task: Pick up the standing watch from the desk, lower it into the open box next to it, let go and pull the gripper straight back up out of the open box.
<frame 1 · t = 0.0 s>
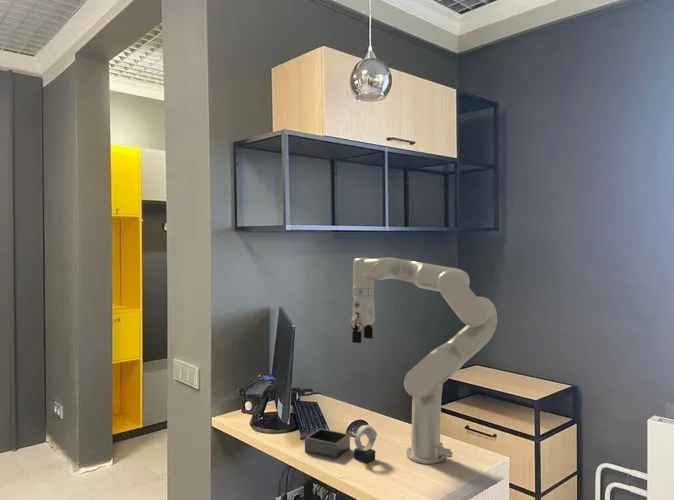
hand: (362, 340, 183), 37 cm above the table, tool pointing down, fingers open, 9 cm apart
open box: (327, 450, 177), on the table
watch: (364, 459, 170), on the table
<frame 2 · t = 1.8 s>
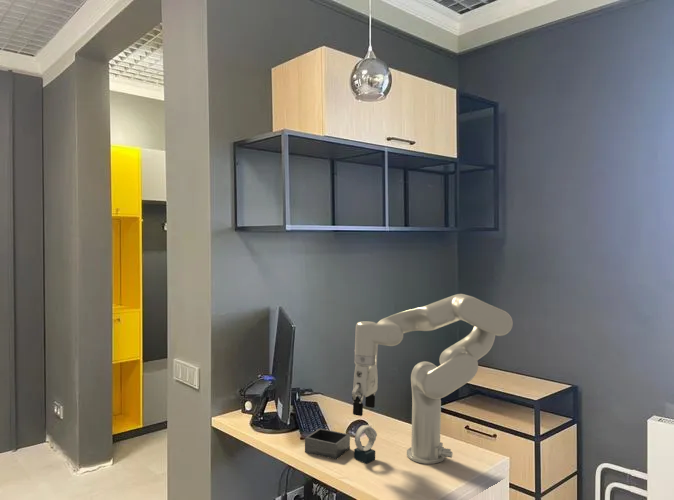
hand: (363, 410, 170), 16 cm above the table, tool pointing down, fingers open, 9 cm apart
nothing on the table moved.
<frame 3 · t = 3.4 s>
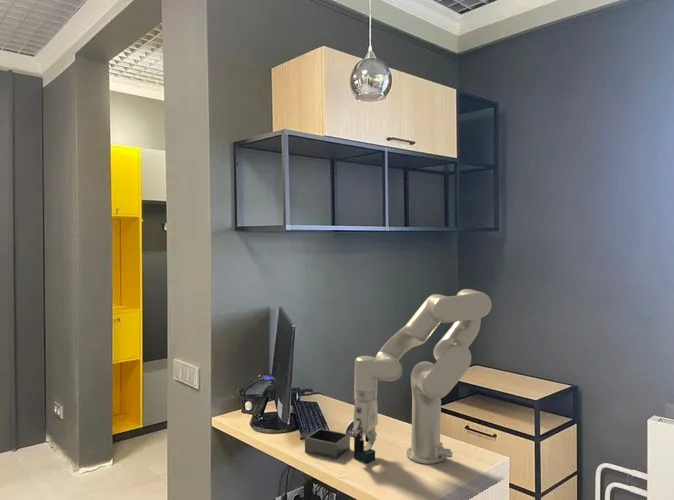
hand: (364, 446, 170), 4 cm above the table, tool pointing down, fingers closed on watch, 8 cm apart
watch: (364, 459, 170), on the table, touching gripper
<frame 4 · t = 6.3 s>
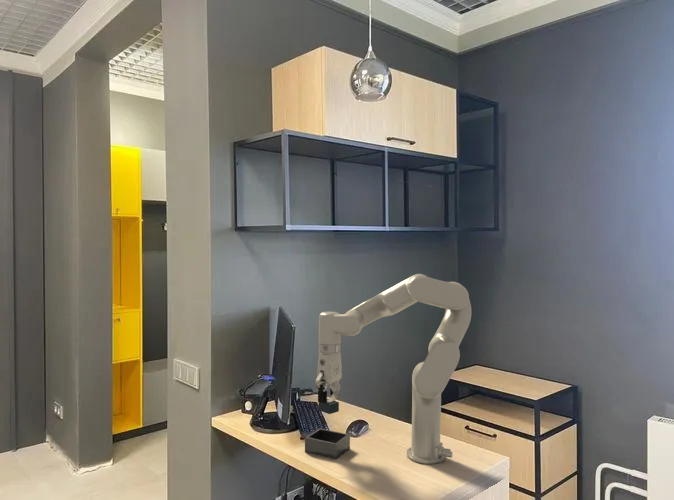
hand: (328, 398, 176), 18 cm above the table, tool pointing down, fingers closed on watch, 8 cm apart
watch: (328, 411, 176), point 14 cm above the table, touching gripper
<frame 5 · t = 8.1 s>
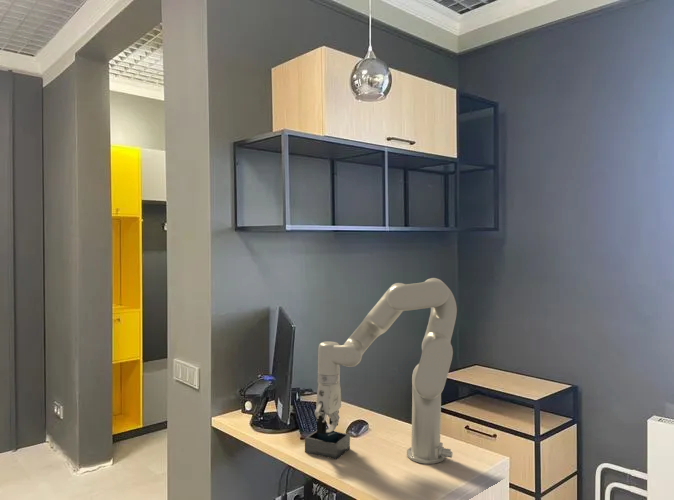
hand: (327, 428, 177), 8 cm above the table, tool pointing down, fingers closed on watch, 8 cm apart
watch: (327, 441, 177), point 3 cm above the table, touching gripper
when the fingers open (6 cm above the table, at t = 9.4 s): watch drops 1 cm, resting on open box.
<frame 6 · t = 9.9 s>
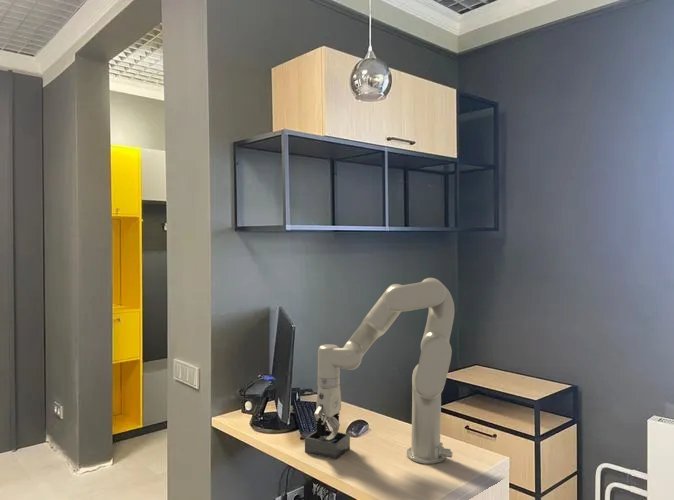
hand: (327, 430, 177), 7 cm above the table, tool pointing down, fingers open, 9 cm apart
watch: (327, 448, 176), point 1 cm above the table, touching open box
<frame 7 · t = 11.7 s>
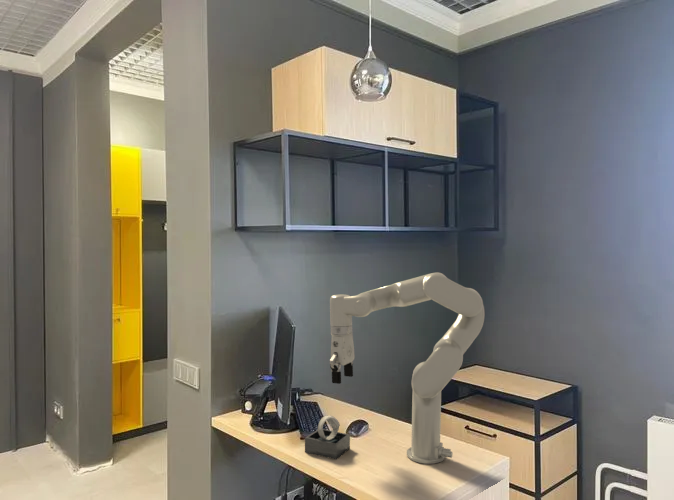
hand: (342, 379, 178), 24 cm above the table, tool pointing down, fingers open, 9 cm apart
nothing on the table moved.
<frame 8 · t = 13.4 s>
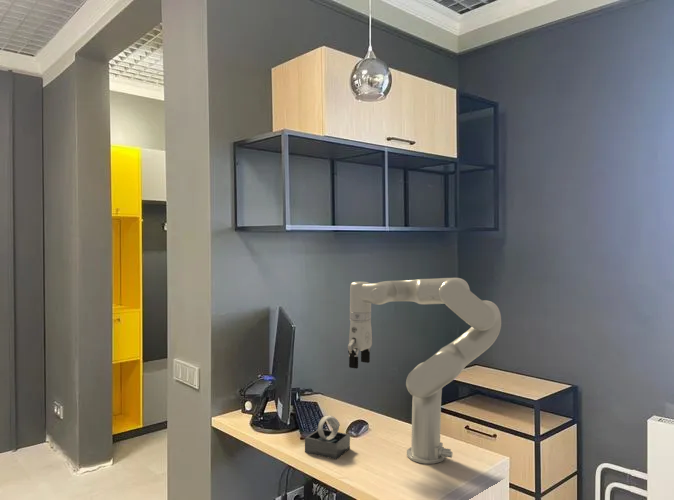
hand: (359, 365, 182), 28 cm above the table, tool pointing down, fingers open, 9 cm apart
nothing on the table moved.
at the end: watch 0.5 cm off-centre on the open box, point 0.8 cm above the open box's base; watch tilted 0°; the gripper is holding nothing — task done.
